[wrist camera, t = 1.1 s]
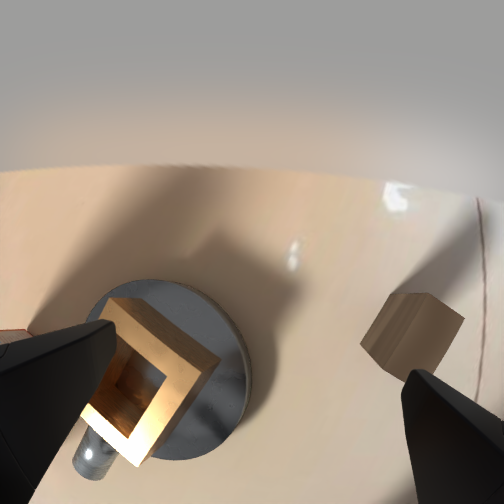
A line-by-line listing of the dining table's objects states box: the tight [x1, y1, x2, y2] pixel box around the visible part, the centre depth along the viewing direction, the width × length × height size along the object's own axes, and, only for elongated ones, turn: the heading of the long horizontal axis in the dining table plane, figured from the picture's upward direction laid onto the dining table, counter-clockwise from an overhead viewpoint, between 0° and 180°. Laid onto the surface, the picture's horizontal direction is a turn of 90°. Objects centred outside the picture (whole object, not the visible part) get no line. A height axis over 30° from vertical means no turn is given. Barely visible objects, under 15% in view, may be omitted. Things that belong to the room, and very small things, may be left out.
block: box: [360, 293, 465, 382], centre depth 17 cm, size 2×4×8 cm, turn 148°
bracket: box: [72, 280, 252, 481], centre depth 20 cm, size 14×17×6 cm
